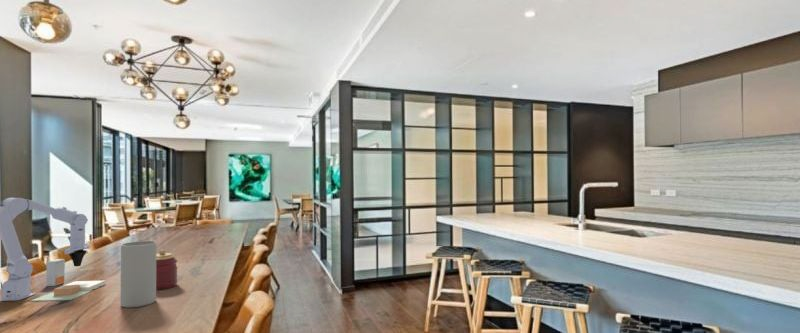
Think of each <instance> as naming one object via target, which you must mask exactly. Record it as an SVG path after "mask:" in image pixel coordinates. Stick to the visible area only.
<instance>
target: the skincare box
mask: <svg viewBox="0 0 800 333" xmlns="http://www.w3.org/2000/svg"><path fill="white" fill-rule="evenodd" d="M65 259H66V258H56V259H52V260H49V261H46V275H45V279H46V280H45V281H46V282H45V283H46V285H45V286H46V287H55V286H58V285H62V284H65V273H66V272H65V268H66V264H65V263H66V260H65Z"/></svg>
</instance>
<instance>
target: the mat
mask: <svg viewBox="0 0 800 333" xmlns="http://www.w3.org/2000/svg"><path fill="white" fill-rule="evenodd" d="M91 292H92V290H91V291H80V292H77V293H75V294H73V295H65V296H54V291H53V292H52V291H51V292H49V293H47V294H44V295H42V296H41V295H40V297H37V298H34V299H31V300H30V302H48V301H49V302H53V301H56V302H57V301H72V300H74V299H77V298H79V297H81V296H84V295H87V294H88V293H91Z"/></svg>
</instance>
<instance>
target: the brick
mask: <svg viewBox="0 0 800 333" xmlns="http://www.w3.org/2000/svg"><path fill="white" fill-rule="evenodd" d="M64 285H65V286H64ZM64 285H62V286H59V287H56V288H54V289H53V292H54V296H65V295H73V294H75V293H77V292H80V285H66V284H64Z"/></svg>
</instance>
